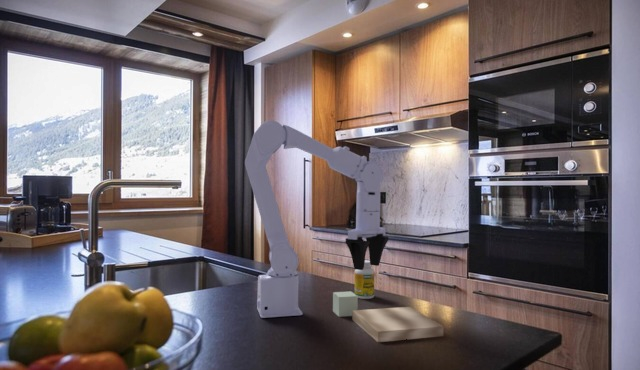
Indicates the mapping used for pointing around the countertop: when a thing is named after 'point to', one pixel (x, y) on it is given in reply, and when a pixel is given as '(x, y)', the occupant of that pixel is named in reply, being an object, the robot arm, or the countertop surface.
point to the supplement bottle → (364, 281)
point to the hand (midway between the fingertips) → (366, 267)
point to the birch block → (396, 324)
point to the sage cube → (344, 303)
